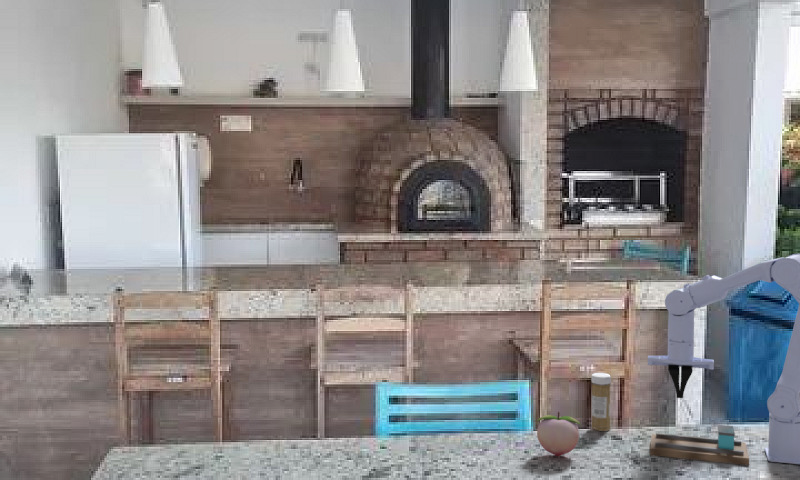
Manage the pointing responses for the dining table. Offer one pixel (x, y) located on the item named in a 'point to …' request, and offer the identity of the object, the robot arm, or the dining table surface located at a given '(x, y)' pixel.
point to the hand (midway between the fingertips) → (679, 396)
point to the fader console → (697, 449)
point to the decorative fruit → (558, 434)
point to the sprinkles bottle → (601, 401)
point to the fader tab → (726, 437)
